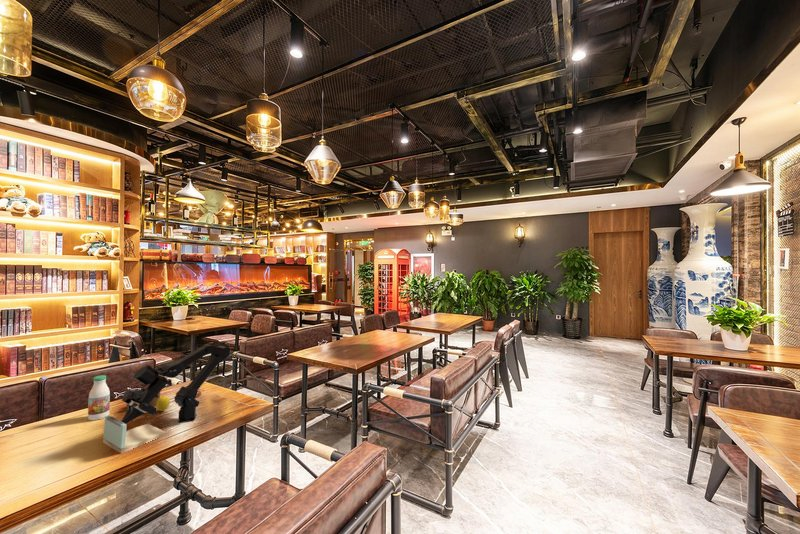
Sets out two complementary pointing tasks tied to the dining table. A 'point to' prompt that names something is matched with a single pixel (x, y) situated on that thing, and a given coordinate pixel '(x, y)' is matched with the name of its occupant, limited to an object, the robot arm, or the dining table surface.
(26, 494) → the dining table surface
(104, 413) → the milk bottle
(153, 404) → the mug
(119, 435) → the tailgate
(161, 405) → the lemon
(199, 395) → the pretzel
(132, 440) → the beige flat square pad
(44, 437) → the dining table surface
